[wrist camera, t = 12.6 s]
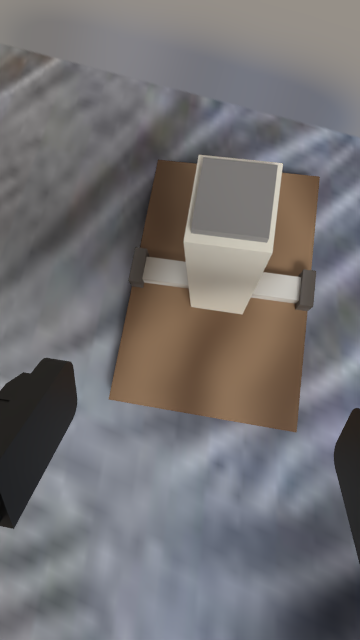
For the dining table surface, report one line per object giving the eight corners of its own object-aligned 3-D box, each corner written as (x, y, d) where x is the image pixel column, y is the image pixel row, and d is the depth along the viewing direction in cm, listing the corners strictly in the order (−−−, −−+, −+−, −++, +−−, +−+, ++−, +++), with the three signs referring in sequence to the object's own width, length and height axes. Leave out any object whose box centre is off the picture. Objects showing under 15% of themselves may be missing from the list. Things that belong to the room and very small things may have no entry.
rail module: (190, 306, 23) (182, 237, 13) (200, 249, 24) (199, 143, 14) (242, 314, 23) (274, 248, 13) (250, 255, 24) (285, 151, 14)
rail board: (114, 399, 24) (103, 399, 21) (160, 172, 28) (156, 148, 25) (290, 430, 23) (301, 434, 20) (313, 188, 26) (325, 165, 24)
